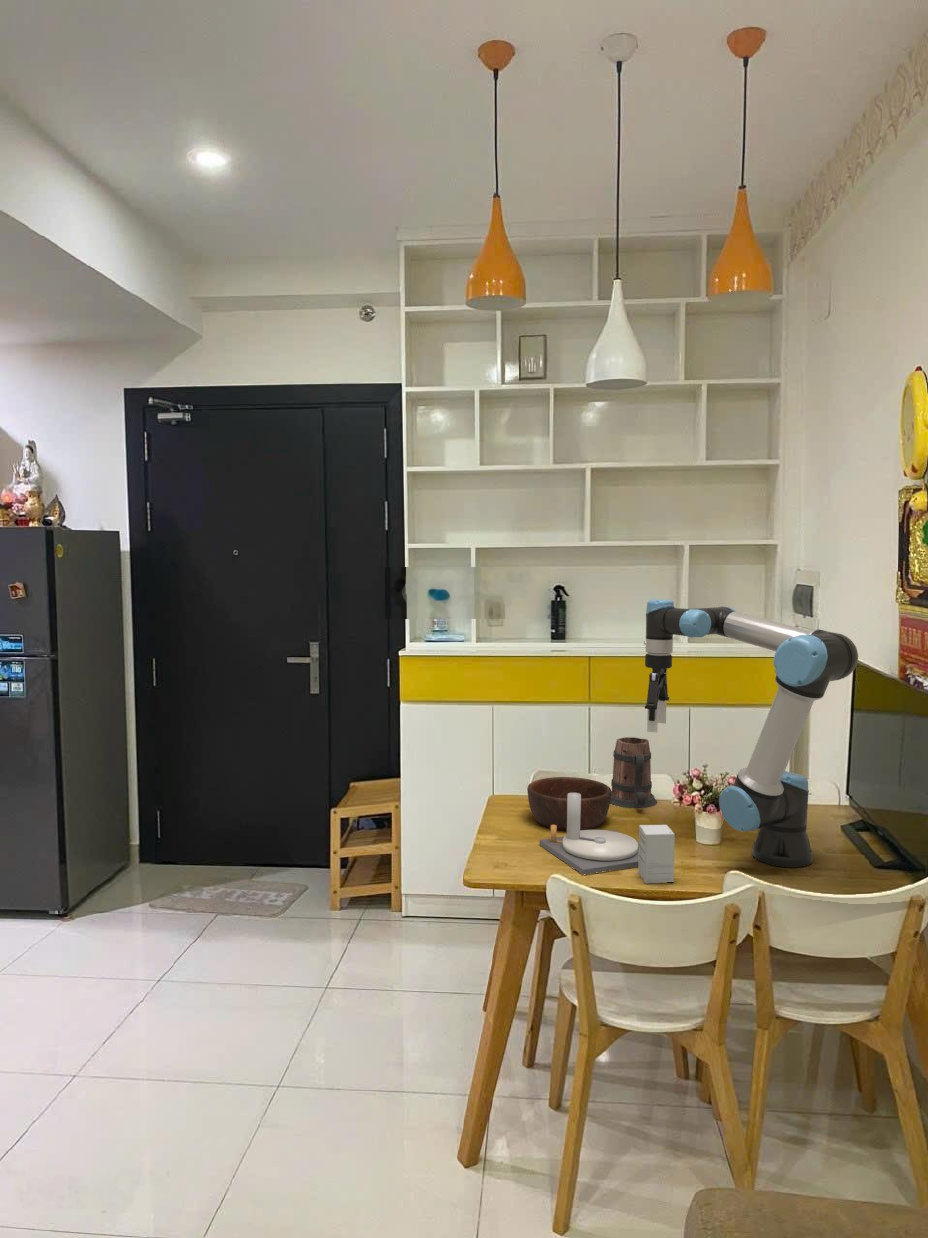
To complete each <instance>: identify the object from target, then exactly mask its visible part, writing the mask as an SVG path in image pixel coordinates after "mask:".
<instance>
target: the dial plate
mask: <svg viewBox="0 0 928 1238" xmlns="http://www.w3.org/2000/svg"><path fill="white" fill-rule="evenodd" d="M557 830H558V829H557V825H551V828H550V837H548V838H543V839H539V846H541V847H542V848H543V849H545V850H546V851H547V852H549V853H550V854H551V855H553V856H555V857H556V858H557V857H558V859H559V860H560V859H561V860H560V861H562V862H563V861H564V862H563V863H565V864H566V863H567V864H569V865H570V866H571V867H570V866H569V865H568V866H569V867H570V868H572V867H573V868H574V870H575V869H576V870H577V871H576V870H575V871H576V872H578V871H579V872H580V873H581V874H580V873H579V872H578V873H579V874H580V875H582V874H583V875H584V874H590V873H596V872H602V871H609V870H616V871H621V870H620V869H622V870H627V868H629V869H633V868H634V867H635V868H638V861H639V842H638V852H637V853H636V854H635V855H634V856H632V857H630V858H626V859H622V860H612V861H601V860H591V859H585V858H581V857H577V856H575V855H572V854H570V853H568V852H567V851H565V850H564V848H563V838H564V836H565V835H564V836H557V835H558V833H557ZM607 831H614V832H618V833H621V832H619V831H618V830H616V829H609V830H607ZM567 864H566V865H567ZM573 868H572V869H573ZM635 868H634V869H635ZM618 869H619V870H618ZM609 872H610V871H609ZM596 874H597V873H596ZM583 875H582V876H583ZM590 875H591V874H590ZM584 876H585V875H584Z"/></svg>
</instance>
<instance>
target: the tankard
mask: <svg viewBox="0 0 928 1238" xmlns="http://www.w3.org/2000/svg"><path fill="white" fill-rule="evenodd" d="M651 759H652V752H651V748H650V741H649V740H648V739H647V738H639V737H635V736H634V737H632V736H630V737H628V736H627V737H625V736H624V737H621V738H617V739H616V742H615V746H614V750H613V766H612V767H613V769H612V778H611V783H610V784H611V785H610V786H611V800H610V805H611V804H612V806H614V805H615V807H618V806H619V808H625V809H647V808H652V807H655V806H656V805H658V800H657V799H656V798H655V795H654V794H653V793H652V788H653V787H652V785H653V782H652V778H651V777H652V776H651V775H652V774H651V765H652V764H651V761H652V760H651Z"/></svg>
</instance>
